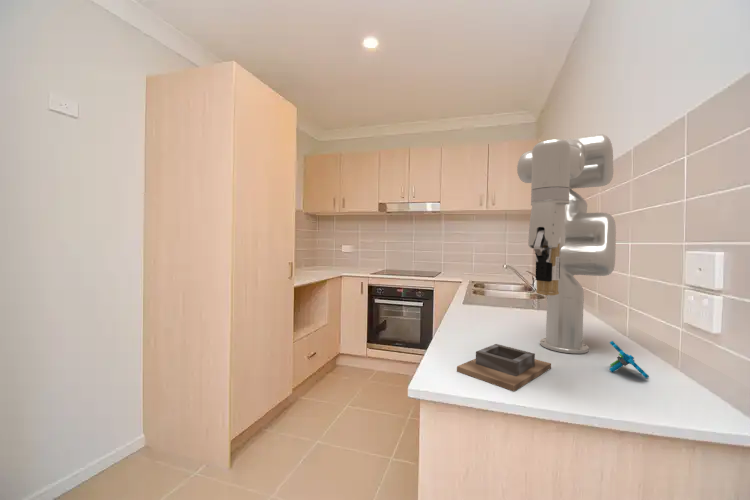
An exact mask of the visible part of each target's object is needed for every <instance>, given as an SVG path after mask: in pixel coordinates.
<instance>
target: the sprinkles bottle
mask: <svg viewBox="0 0 750 500" xmlns="http://www.w3.org/2000/svg"><path fill="white" fill-rule="evenodd" d="M558 243H561V237H560V238H559V241H558ZM559 245H560V244H558V247H557V248H554V249H552V252H551V262H550V263H552V281H550V282H548V281H537V280H536V293H537V294H539V295H543V296H547V295H558V294H559V292H558V281H559V258H560V257H559V248H560V246H559ZM543 248H548V246H547V245H543ZM546 255H547V252H546Z"/></svg>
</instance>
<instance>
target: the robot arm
mask: <svg viewBox="0 0 750 500" xmlns="http://www.w3.org/2000/svg"><path fill="white" fill-rule="evenodd" d="M613 149H614V148H613V143H612V141H611V139H610V138H609V137H608V136H607V135H605V134H603V133H602V134H594V135H587V136H582V137H581V136H580V137H575V138H574V137H573V138H568V139H547V140H543V141H540V142H538V143H536V144H535V145H534V146H533V148H532V150H529V151H526V152H524V153H523V154H522V155H521V156H520V157H519V158H518V161H517V165H516V167H517V168H516V171H517V176H518V179H519V180H520V181H522V182H523V183H525V184H531V186H530V187H531V188H530V189H531V191H530V193H531V194H530V196H531V197H530V206H531V211H530V217H529V228H528V243H527V244H528V247H529V248H530V249H533V250H534V255H535V259H534V260H535V281H536V282H537V281H548V282H550V281H552V263H550V262H551V252H552V249H554V248H557V247H558V244H560V245H559V246H560V248H559V257H560V258H559V281H558V292H559V294H558V295H546V321H545V322H546V327H545V328H546V329H545V330H546V331H545V337H543V338H541V339H540V340H539V343H540V345H541V346H542V347H543V348H545V349H548V350H552V351H555V352H560V353H563V354H564V353H565V354H576V355H577V354H586V353H588V352H589V346H588V345H587V344H586V343H583V337H584V336H583V333H584V327H583V326H584V299H585V298H584V297H585V291H584V288H583V286H582V284H581V283H580V282H579V281H578V279H576V277H575V276H589V277H591V276H592V277H593V276H596V277H605V276H609V275H611V274H612V273H613V272H614V269H615V266H616V243H617V239H616V238H617V229H616V228H617V227H616V221H615V218H614V217H613V216H612V214H610V213H608V212H588V203H587V201H586V200H585V199H584V197H582V195H581V194H579V193H577V191H575V190H574V189H585V188H599V187H604V186H605V187H606V186H607V185H609V184H610V183H611V182H612V180H613V177H614V150H613ZM560 237H561V243H558V241H559V238H560ZM543 245H547V246H548V248H543ZM546 252H547V255H546Z"/></svg>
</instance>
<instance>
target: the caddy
mask: <svg viewBox="0 0 750 500" xmlns="http://www.w3.org/2000/svg"><path fill="white" fill-rule="evenodd" d="M535 355H536V353H533V352H530V351H526V350H522V349H519V348H515V347H510V346H508V345H507V346H506V345H502V344H498V343H495V344H492V345H489V346H486V347H484V348H482V349H479V350H477V351H475V358H474V359H473V358H472V360H471V359H470V360H469V361H467V362H464V363H462V364H459V365H457V366H456V372H458V373H461V374H464V375H465V376H466V375H467V376H470V377H473V378H474V379H478V380H481V381H484V382H486V383H489V384H493V385H495V386H497V387H500V388H504V389H506V390H509V391H512V392H516V391H517V390H519V389H521V388H522V387H524V386H526V385H527V384H528V383H530V382H531V381H533V380H535V379H537V378H538V377H540V376H541V375H543V374H545V373H546V372H547V371H549V370H551V368H552V363H550V362H547V361H543V360H540V359H536V357H535ZM548 369H549V370H548Z"/></svg>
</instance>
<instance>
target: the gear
mask: <svg viewBox="0 0 750 500" xmlns="http://www.w3.org/2000/svg"><path fill="white" fill-rule="evenodd" d="M609 344H610V345H611V346H612V347H613V348H614V349H615V350H616V351H617V352H618V356H616V358H617V359H616V360H615V361H614V362H612V363H610V367H609V371H610V372H611V373H612V374H613V373H615V372H616V371H618V370H619V369H621V368H622V367H626V366H628V365H631V366H632V367H633V368H635V370H637V371H638V372H639V373H640V374H641V375H642V376H643V377H644V378H645V379H648V378H649V377H650V376H649V374H647V373H646V372H645V370H643V369H642V368H641V367H640V366H639V364H638V363H636V362H635V360H634V359H635V357H634V356H632V354H628V353H626V352H624V350H622V348H621V347H620V346H618V345H617V344H616V342H614V341H613V340H611V341H610V342H609Z"/></svg>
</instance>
